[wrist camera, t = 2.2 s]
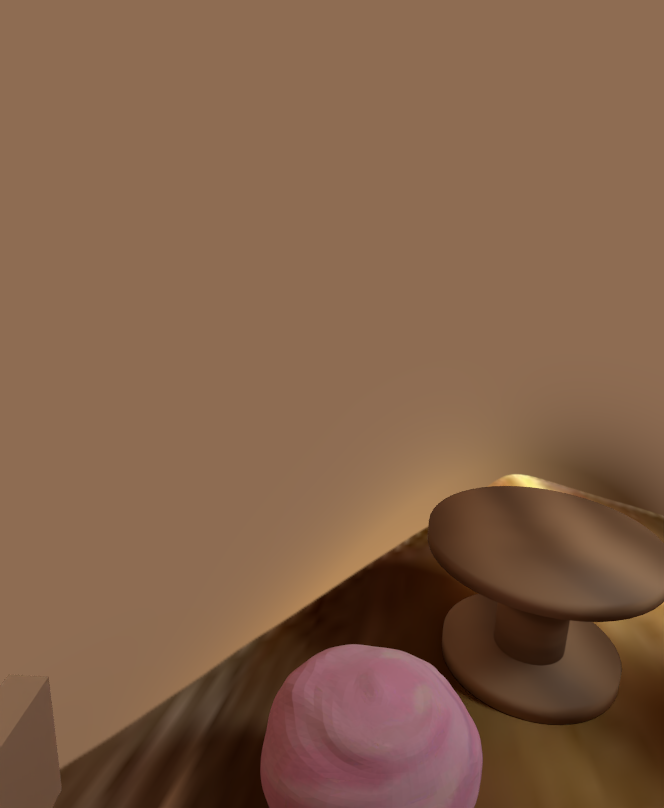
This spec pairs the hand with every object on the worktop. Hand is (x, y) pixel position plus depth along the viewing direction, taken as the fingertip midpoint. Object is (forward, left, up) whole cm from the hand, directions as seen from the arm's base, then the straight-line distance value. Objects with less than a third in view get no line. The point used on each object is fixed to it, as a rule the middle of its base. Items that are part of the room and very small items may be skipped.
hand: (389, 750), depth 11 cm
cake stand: (-19, -18, -17) cm, 31 cm away
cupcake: (-4, -9, -17) cm, 20 cm away
